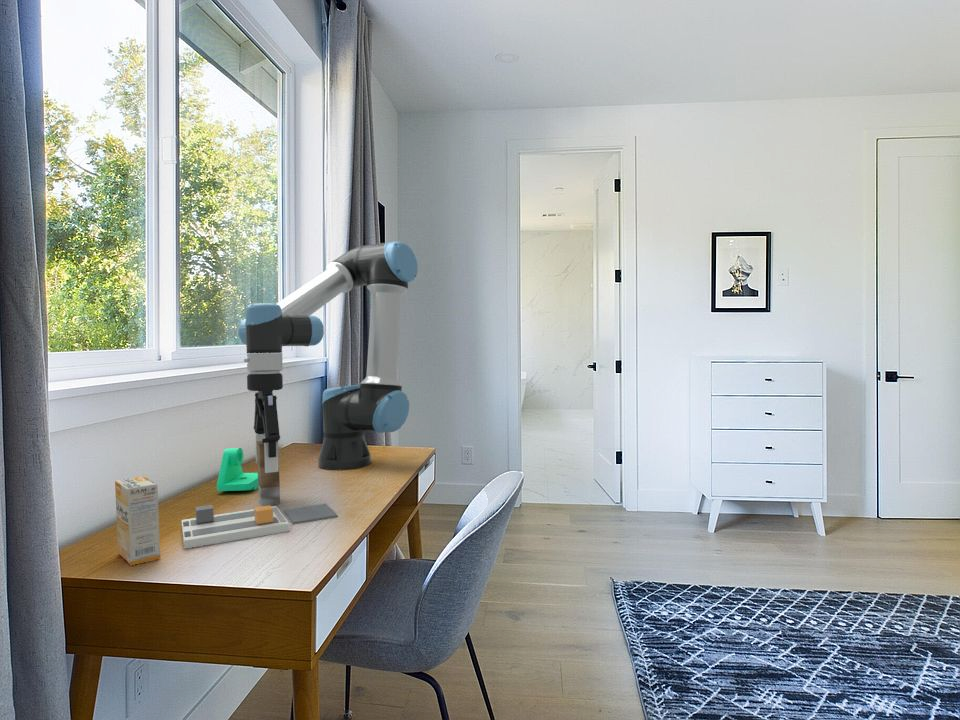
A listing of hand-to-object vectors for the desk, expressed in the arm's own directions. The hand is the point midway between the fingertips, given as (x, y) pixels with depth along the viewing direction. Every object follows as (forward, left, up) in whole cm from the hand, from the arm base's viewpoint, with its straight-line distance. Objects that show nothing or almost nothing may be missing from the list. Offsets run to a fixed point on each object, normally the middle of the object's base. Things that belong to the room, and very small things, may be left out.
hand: (266, 466), depth 132 cm
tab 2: (+4, +19, -7) cm, 21 cm away
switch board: (+9, +16, -8) cm, 20 cm away
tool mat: (-6, +14, -8) cm, 17 cm away
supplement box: (+25, +23, -9) cm, 35 cm away
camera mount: (+3, -18, -9) cm, 21 cm away
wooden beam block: (0, 0, -8) cm, 8 cm away
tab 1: (+14, +12, -7) cm, 19 cm away
